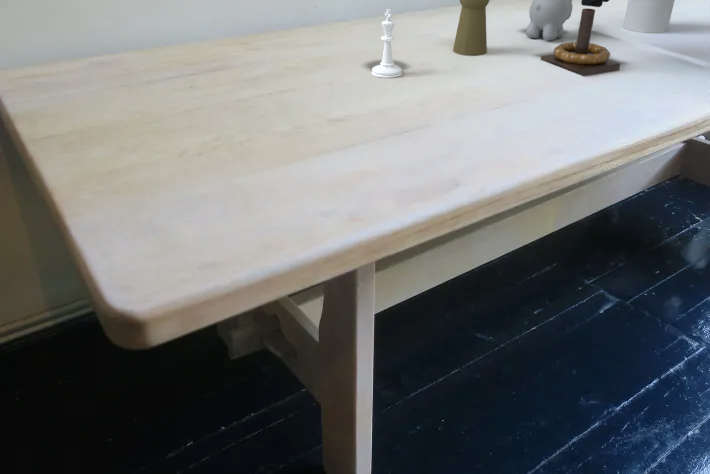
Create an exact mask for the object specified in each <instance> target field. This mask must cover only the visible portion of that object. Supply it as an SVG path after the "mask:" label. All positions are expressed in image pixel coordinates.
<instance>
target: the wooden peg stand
mask: <svg viewBox="0 0 710 474" xmlns="http://www.w3.org/2000/svg"><path fill="white" fill-rule="evenodd" d="M595 14H596V9H595V8H589V7H588V8H582V9H581V14H580V21H579V26H578V33H577V38H576V42H577V44H576V49H575V52H570V53H576V54H591V53H588V48H589V43H591V37H592V31H593V26H594V19H595ZM540 61H543V62H545V63H547V64H550V65H552V66H555V67H558V68H561V69H563V70H566V71H568V72H571V73H574V74H576V75H579V76H581V77H587V76H592V75H593V76H594V75H599V74H605V73H612V72H617V71H620V67H621V62H618V61H615V60H612V59H610V58H609V59H608V60H607V61H605V62H604V63H600V64H594V65H580V64H573V63H568V62H565V61H562V60H560V59H558V58H557V57H556V56H555V54H554V53H553V54H547V55H546V54H545V55H541V56H540Z"/></svg>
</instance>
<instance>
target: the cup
mask: <svg viewBox="0 0 710 474" xmlns="http://www.w3.org/2000/svg"><path fill="white" fill-rule="evenodd" d="M674 5H675V0H627V5H626V10H625V15H624V20H623V24H622V28H623V29H624V30H626V31H629V32H633V33H640V34H650V35H651V34H654V35H655V34H663V33H664V34H665V33H667V32H668V30H669V25H670V21H671V17H672V13H673V9H674Z"/></svg>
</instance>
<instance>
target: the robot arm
mask: <svg viewBox="0 0 710 474" xmlns="http://www.w3.org/2000/svg"><path fill="white" fill-rule="evenodd" d="M609 1H610V0H581V2H580V4H581V6H585V7H594V8H600V7H602V6H603V3H609Z"/></svg>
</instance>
